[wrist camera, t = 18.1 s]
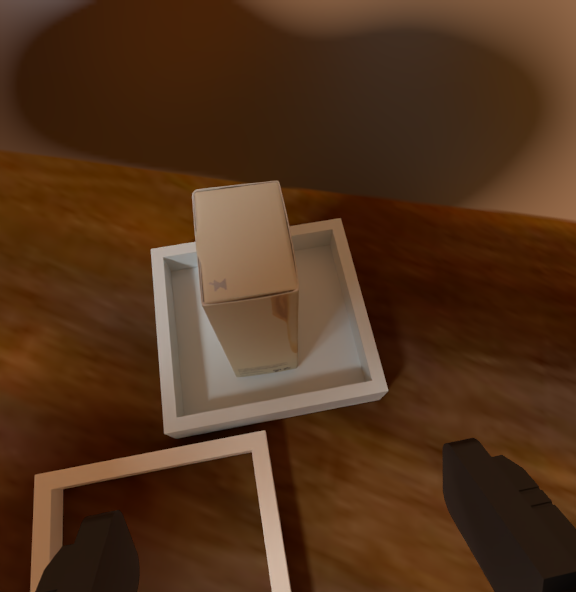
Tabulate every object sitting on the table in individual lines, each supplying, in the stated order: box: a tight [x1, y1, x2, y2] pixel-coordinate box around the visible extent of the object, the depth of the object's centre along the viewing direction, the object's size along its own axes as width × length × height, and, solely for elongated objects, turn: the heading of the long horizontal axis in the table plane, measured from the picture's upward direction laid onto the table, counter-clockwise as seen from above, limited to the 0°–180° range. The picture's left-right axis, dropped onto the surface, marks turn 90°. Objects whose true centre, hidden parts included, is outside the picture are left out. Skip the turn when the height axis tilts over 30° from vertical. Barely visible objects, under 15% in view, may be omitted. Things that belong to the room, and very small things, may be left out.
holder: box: [30, 430, 292, 592], centre depth 25 cm, size 12×14×2 cm
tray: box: [151, 218, 388, 439], centre depth 30 cm, size 13×14×3 cm
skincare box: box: [192, 181, 299, 377], centre depth 25 cm, size 6×4×12 cm
